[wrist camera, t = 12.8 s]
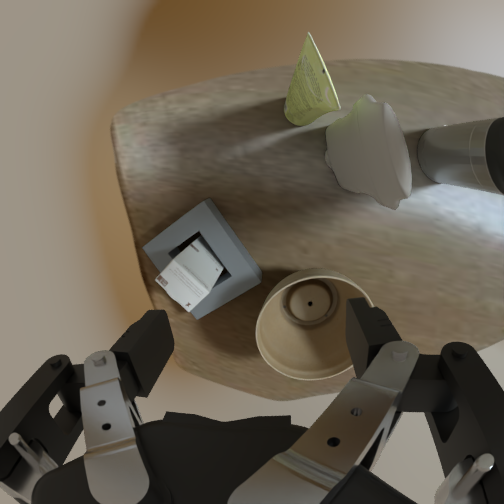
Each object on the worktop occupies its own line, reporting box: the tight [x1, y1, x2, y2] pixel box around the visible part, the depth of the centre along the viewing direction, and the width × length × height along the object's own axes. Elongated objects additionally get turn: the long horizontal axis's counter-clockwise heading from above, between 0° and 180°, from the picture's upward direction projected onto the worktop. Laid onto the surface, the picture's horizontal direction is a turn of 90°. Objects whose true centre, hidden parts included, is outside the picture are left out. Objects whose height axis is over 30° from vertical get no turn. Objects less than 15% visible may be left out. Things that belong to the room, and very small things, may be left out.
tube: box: [284, 32, 341, 126], centre depth 28 cm, size 6×5×20 cm
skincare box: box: [155, 236, 225, 312], centre depth 39 cm, size 6×4×12 cm
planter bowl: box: [255, 268, 374, 380], centre depth 41 cm, size 16×16×11 cm
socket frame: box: [142, 198, 262, 320], centre depth 43 cm, size 12×14×4 cm
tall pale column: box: [325, 94, 412, 210], centre depth 29 cm, size 11×4×22 cm, turn 16°
